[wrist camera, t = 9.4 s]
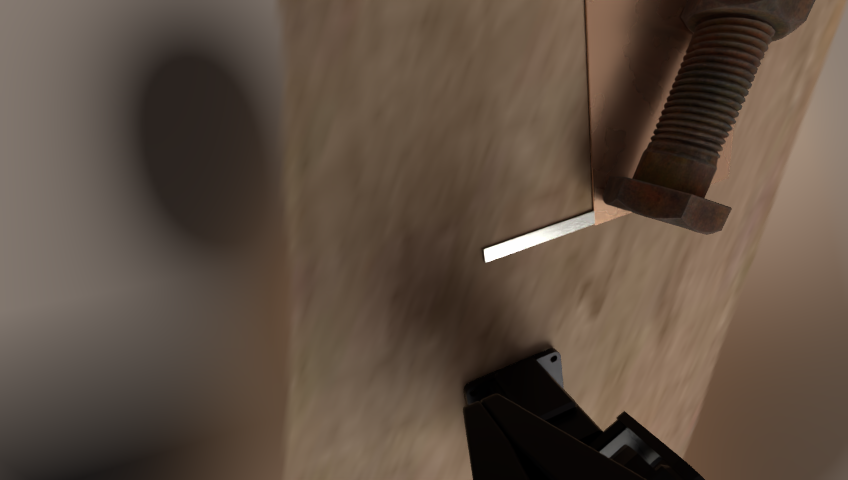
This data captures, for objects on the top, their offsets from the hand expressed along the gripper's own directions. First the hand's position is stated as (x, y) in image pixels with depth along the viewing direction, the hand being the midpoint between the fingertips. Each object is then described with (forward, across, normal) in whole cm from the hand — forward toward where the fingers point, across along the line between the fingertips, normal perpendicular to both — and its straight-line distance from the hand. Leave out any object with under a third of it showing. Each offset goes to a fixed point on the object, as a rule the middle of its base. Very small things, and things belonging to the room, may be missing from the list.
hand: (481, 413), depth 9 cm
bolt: (+12, -18, -4) cm, 22 cm away
